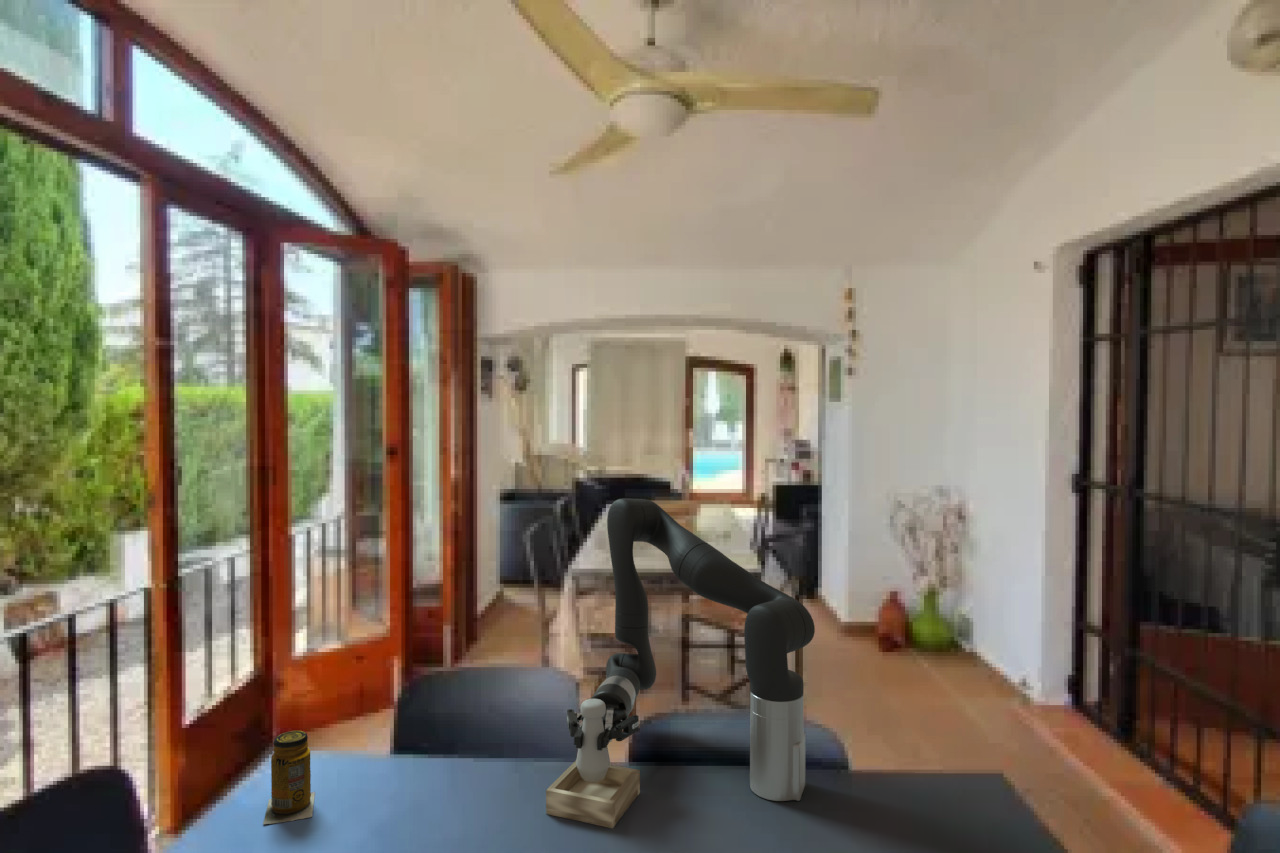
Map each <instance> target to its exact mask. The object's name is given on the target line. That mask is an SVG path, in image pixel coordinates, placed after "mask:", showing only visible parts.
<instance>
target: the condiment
mask: <svg viewBox="0 0 1280 853" xmlns="http://www.w3.org/2000/svg"><path fill="white" fill-rule="evenodd" d="M308 738H309V737H308V733H307V732H306V731H303V730H291V731H286V732H285V731H284V732H282V733H280V734H279V735H277V736H276V737H274V739H273V743H272V744H273V750H272V751H273V753H272V755H271V758H270V765H271V766H270V769H271V770H270V771H271V772H270V774H271V777H270V778H271V780H270V782H271V785H270V786H271V788H270V790H271V793H270V794H271V798H269V799H268V801H267V806H266V811H265V814H264V819H263V822H262V825H268V824H269V825H271V824H278V823H284V822H285V823H286V822H293V821H296V820H304V819H306V818H312V817H313V810H314V804H315V795H316V792H315V791H313V792H311V790H312V789H311V787H312V786H311V785H312V783H311V781H312V780H311V778H312V777H311V776H312V775H311V772H312V771H311V749H310V748H309V741H308V740H309V739H308Z"/></svg>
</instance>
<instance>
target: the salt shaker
mask: <svg viewBox="0 0 1280 853" xmlns="http://www.w3.org/2000/svg"><path fill="white" fill-rule="evenodd" d="M579 711H580V713H581V715H582V717H584V720H583V725H582V731H583V742H582V747H581V749H580V748H577V754H576V760H575V761H576V766H577V769H578V771H579V773H580V775H581V777H582V778H583V779H584V781H586V782H595V783H596V782H598V781H600V780H603V779H604V778H605V776H606V773H607V771H608V768H609V766H610V765H611V758H610V753H609V749H608V746H607V747H606V748H603V749H602V751H600V750H597V738H598V736H599V734H600V733H602V732H604V726H603V720H602V717H604V715H605V713H606V705H605V703H604V702H603V701H602V700H600V699H591V698H589V699H588V698H587V699H586V700H585V699H584V701H583V702H582V703H581V704H580V710H579Z"/></svg>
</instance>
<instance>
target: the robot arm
mask: <svg viewBox="0 0 1280 853" xmlns="http://www.w3.org/2000/svg"><path fill="white" fill-rule="evenodd" d="M606 517H607V519H606V520H607V521H606V527H607V536H608V537H607V538H608V544H609V552H610V560H611V566H612V567H611V568H612V574H613V582H614V594H615V596H614V597H615V600H614V601H615V611H614V612H615V614H614V615H615V616H614V635H615V638H616V640H617V641H618V642H620V643H625V644H628V645H630V646H632V647H634V649H635V650H636V652H637V653H623V652H617V653H615V654H612V655H611V656H609V658H608V660H607V662H606V666H605V676H606V678H605V680H604V681H603V682H601V683H600V685H599V686H598V688H597V689H596V691H595V693H594V694H593V696H592V697H591V698H590V699H600V700H602V701H603V702H604V703H605V705H606V713H605V715H604V717H602V720H603V726H604V732H602V733H600V734H599V736H598V738H597V750H600V751H602V749H603V748H606V747H608V745H609V743H611V742H612V741H613V740H615V741H616V742H622V741H624V740H626V739H628V738H629V737H630V736H632V735H634V734H635V733H637V732H638V731H639V725H640V722H639V721H640V720H639V715H637V714H633V715H631V716H629V715H630V714H631V712H632V711H633V708H634V706H635V702H636V699H637V697H638V695H639V692H640V690H649V689H651V688H652V686H653V685H654V683H655V681H656V678H657V668H656V664H655V659H654V655H653V652H652V647H651V644H650V636H649V600H648V596H647V592H646V588H645V587H644V585H643V582H642V580H641V578H640V576H639V574H638V571H637V568H636V564H635V560H634V542H635V543H638V542H639V543H642V542H643V543H647V544H649V545H652V546H653V547H655V548H657V549H658V550H659V551H661V552H662V553H663V554H665V555H666V556H667V558H668V563H669V566H670V568H671V571H672V572H673V574H674V576H675V578H677V579H678V580H679V581H680V582H681V583H682V584H684V585H685V586H686V587H687V588H689V590H691V591H693V592H694V593H696V594H697V595H698V596H700V597H702V598H705V599H706V600H709V601H712V602H715V603H717V604H721V605H724V606H727V607H730V608H733V609H736V610H739V611H742V612H743V613H745V614H746V617H745V620H744V628H743V629H744V631H743V636H744V637H743V638H744V654H745V670H746V675H747V677H748V678H747V679H748V681H749V684H750V685H749V687H750V688H749V689H750V690H749V691H750V693H749V695H750V696H749V697H750V698H749V699H750V701H749V702H750V707H749V708H750V709H749V710H750V712H749V713H750V714H749V719H750V722H749V725H750V726H749V734H750V735H749V747H750V748H749V788H750V789H751V792H753V793H754V794H755V795H756V796H758V797H760V798H762V799H765V800H768V801H774V802H786V801H798V802H799V801H800V800H801V799H802V797H803V796H802V795H803V792H804V790H805V787H806V732H804V679H803V677H802V676H801V674H800V673H798V672H796V671H794V670H790V669H789V665H788V654H789V653H793V652H795V651H798V650H800V649H802V648H804V647H806V646H807V645H808V644H810V643H811V641H812V640H813V638H814V636H815V632H816V631H815V630H816V629H815V623H814V619H813V616H812V614H811V612H810V611H809V610H808V608H807V607H806V606H805V605H804V604H803V603H802V602H800V601H799V600H797V599H796V598H794V597H793V596H790V595H789V594H787V593H785V592H783V591H782V590H779V589H777V588H775V587H773V586H772V585H770V584H769V583H767V582H764V581H763V580H761V579H760V578H758V577H756V576H755V575H753V573H751V572H750V571H748V570H747V569H745V568H743V567H742V566H741V565H739V564H737V562H735V561H733V560H731V559H730V558H729V557H728V556H726V555H725V554H724V553H722V552H721V551H720V550H718V549H717V548H716V547H714V546H713V545H711V544H710V543H708V542H706V541H705V540H703V539H702V538H700V537H699V536H697V535H696V534H695V533H694V532H692V531H690V530H689V529H687V528H685V527H684V526H682V525H681V524H680V523H679V522H678V521H677V520H675V519H674V518H673V517H672V516H671V515H670V514H669V513H668V512H666V511H665V510H664V509H663V507H661V506H660V505H659V504H657V503H655V502H654V501H653V500H650V499H645V498H626V497H625V498H624V497H623V498H618V499H616V500H614V501H613V502H612V504H611V505H610V507H609V508H608V512H607V516H606ZM583 720H584V717H582V715H581V712H576V711H575V710H574V709H572V708H570V709H567V710H566V724H567V729H568V733H569V736H570V737H572V738H573V745H574V746H575V748H576V749H578V748H580V749H581V747H582V742H583V731H582V725H583ZM579 721H581V722H580V723H579Z"/></svg>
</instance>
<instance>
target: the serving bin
mask: <svg viewBox="0 0 1280 853" xmlns="http://www.w3.org/2000/svg"><path fill="white" fill-rule="evenodd" d="M640 774H641V770H640V769H635V768H631V767H625V766H618V765H614V764H610V766H609V768H608V771H607V773H606V776H605V778H604V779H603V780H600V781H598V782H596V783H595V782H586V781H584V779H583V778H582V777H581V775H580V773H579V771H578V769H577V766H576V760H575V761H573V763H572V764H571V765H570V766H569V767H568V768H567V769H565V770H564V772H563V773H561V775H560V776H558V778H557V779H556V780H555V781H554V782H552V784H551V785H550V786H549V787H548V788H547V789H546V790H545V811H546V812H545V815H548V816H549V815H550V816H553V817H554V816H555V817H558V818H564V819H569V820H572V821H577V822H581V823H587V824H591V825H596V826H599V827H600V826H601V827H604V828H610V829H614V828H615V826H617V825H616V824H618V822H619V821H620V819H622V817H623V815H624V814H625V813H626V811H627V810H628V809H629V808H630V806H631V805H632V804H633V802H634V801H635V800H636V799H637V797H638V796H639V795H640V793H641V789H640V788H641V787H640V786H641V775H640Z"/></svg>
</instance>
